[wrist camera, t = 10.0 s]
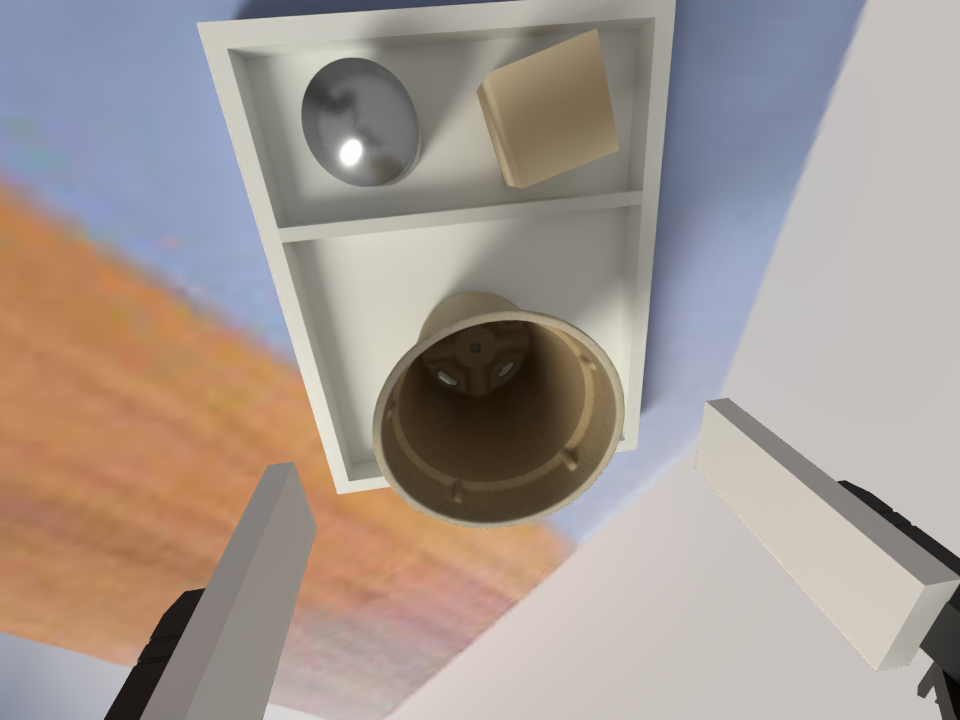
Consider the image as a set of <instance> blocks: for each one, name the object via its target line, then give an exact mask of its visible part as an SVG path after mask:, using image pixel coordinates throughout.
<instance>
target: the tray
mask: <svg viewBox="0 0 960 720" xmlns="http://www.w3.org/2000/svg"><path fill="white" fill-rule="evenodd" d="M675 9H676V0H521V1H506V2H492V3H477V4H462V5H448V6H433V7H419V8H404V9H390V10H375V11H360V12H346V13H331V14H317V15H302V16H288V17H273V18H258V19H244V20H229V21H215V22H200V23H196V24H197V27H198V31H199V34H200V37H201V41H202V44H203V47H204V51H205V54H206V57H207V61H208V64H209V67H210V71H211V74H212V77H213V81H214V84H215V87H216V91H217V94H218V97H219V101H220V104H221V107H222V110H223V114H224V117H225V120H226V124H227V127H228V130H229V134H230V137H231V140H232V144H233V147H234V150H235V154H236V157H237V160H238V164H239V167H240V170H241V174H242V177H243V180H244V184H245V187H246V190H247V194H248V197H249V200H250V204H251V207H252V210H253V214H254V217H255V220H256V224H257V227H258V230H259V234H260V237H261V240H262V244H263V247H264V250H265V254H266V257H267V260H268V264H269V267H270V270H271V274H272V277H273V280H274V284H275V287H276V290H277V294H278V297H279V300H280V304H281V307H282V310H283V314H284V317H285V320H286V323H287V327H288V330H289V333H290V337H291V340H292V343H293V347H294V350H295V353H296V357H297V360H298V363H299V367H300V370H301V373H302V377H303V380H304V383H305V387H306V390H307V393H308V397H309V400H310V403H311V407H312V410H313V413H314V417H315V420H316V423H317V427H318V430H319V433H320V437H321V440H322V443H323V447H324V450H325V453H326V457H327V460H328V463H329V467H330V470H331V473H332V477H333V480H334V483H335V487H336V490H337V493H338V494H344V493H350V492H357V491H364V490H370V489H377V488H384V487H390V485H389V484H388V482H387V481H386V480H385V478H384V476H383V473H382V471H381V470H380V468H379V465H378V463H377V459H376V456H375V453H374V447H373V439H372V423H373V416H374V410H375V406H376V402H377V399H378V396H379V394H380V391H381V389H382V387H383V385H384V383H385V381H386V379H387V377H388V376H389V374H390V373H391V371H392V369H393V368H394V366H395V365H396V364H397V362H398V361H399V360H400V359H401V358H402V357H403V355H404V354H405V353H406V352H407V351H408V350H410V349H411V348H412V347H413V346H414V345H415V344H416V343H417V340H418V337H419V334H420V331H421V328H422V326H423V324H424V322H425V320H426V319H427V317H428V316H429V315H430V313H431V312H432V311H433V310H434V309H435V308H436V307H437V306H438V305H439V304H441V303H442V302H444V301H445V300H447V299H449V298H451V297H453V296H456V295H459V294H463V293H469V292H489V293H493V294H496V295H499V296H501V297H503V298H505V299H507V300H509V301H510V302H512V303H513V304H514V305H515V306H517V307H518V308H519V309H521V310H530V311H536V312H541V313H545V314H548V315H552V316H555V317H557V318H559V319H562V320H564V321H566V322H568V323H570V324H572V325H574V326H576V327H577V328H579V329H581V330H582V331H583V332H585V333H586V334H587V335H589V336H590V337H591V338H592V339H593V340H594V341H595V342H597V344H598V345H599V346H600V347H601V348H602V349H603V350H604V351H605V352H606V354H607V356H608V357H609V358H610V360H611V361H612V363H613V365H614V366H615V368H616V370H617V372H618V374H619V377H620V381H621V384H622V388H623V393H624V403H625V419H624V424H623V430H622V433H621V438H620V441H619V443H618V445H617V449H616V451H615V452H614V453H617V452H623V451H630V450H637V441H638V430H639V419H640V407H641V396H642V384H643V373H644V362H645V350H646V339H647V328H648V316H649V305H650V293H651V282H652V271H653V259H654V248H655V237H656V225H657V214H658V202H659V191H660V180H661V168H662V157H663V146H664V134H665V123H666V111H667V100H668V89H669V77H670V66H671V54H672V43H673V32H674V20H675ZM596 28H597V31H598V37H599V42H600V47H601V52H602V58H603V63H604V68H605V74H606V79H607V84H608V90H609V95H610V100H611V106H612V111H613V116H614V122H615V127H616V132H617V138H618V143H619V148H620V150H618V151H616V152H613V153H611V154H608V155H606V156H603V157H601V158H598V159H596V160H593V161H591V162H588V163H586V164H583V165H581V166H578V167H576V168H573V169H571V170H568V171H566V172H563V173H561V174H558V175H556V176H553V177H551V178H548V179H546V180H543V181H541V182H538V183H536V184H533V185H531V186H528V187H526V188H523V189H522V188H517V187H512V186H507V185H505V184H504V180H503V177H502V174H501V171H500V167H499V164H498V161H497V158H496V154H495V151H494V148H493V145H492V142H491V138H490V135H489V132H488V129H487V125H486V122H485V119H484V116H483V112H482V109H481V106H480V103H479V100H478V96H477V93H476V91H477V89H478V88H479V86H480V85H481V84H482V82H483V81H484V79H485V78H486V76H487V75H488V73H489V72H492V71H494V70H497V69H499V68H502V67H504V66H506V65H509V64H511V63H514V62H516V61H519V60H521V59H523V58H526V57H528V56H531V55H533V54H535V53H538V52H540V51H543V50H545V49H548V48H550V47H552V46H555V45H557V44H560V43H562V42H565V41H567V40H569V39H572V38H574V37H577V36H579V35H581V34H584V33H586V32H589V31H591V30H594V29H596ZM350 57H354V58H363V59H368V60H370V61H373V62H376V63H378V64H380V65H382V66H383V67H385V68H386V69H388V70H389V71H390V72H391V73H392V74H394V75H395V76H396V77H397V78H398V80H399V81H400V82H401V83H402V84H403V86H404V87H405V89H406V90H407V92H408V94H409V96H410V98H411V100H412V103H413V105H414V108H415V111H416V113H417V116H418V119H419V122H420V125H421V129H422V137H423V144H422V151H421V156H420V159H419V161H418V163H417V165H416V167H415V168H414V170H413V171H412V172H411V174H410V175H409V176H408V177H406V178H405V179H404V180H402V181H401V182H399V183H396V184H394V185H390V186H384V187H360V186H354V185H350V184H347V183H345V182H343V181H340V180H339V179H337V178H335V177H334V176H332V175H331V174H330V173H328V172H327V171H326V170H325V169H324V168H323V167H322V166H321V165H320V164H319V163H318V161H317V160H316V159H315V157H314V156H313V154H312V153H311V151H310V149H309V147H308V145H307V142H306V139H305V137H304V133H303V128H302V121H301V109H302V101H303V97H304V94H305V91H306V89H307V86H308V84H309V83H310V81H311V79H312V78H313V77H314V76H315V74H316V73H317V72H318V71H319V70H320V69H321V68H323V67H324V66H326V65H327V64H329V63H331V62H333V61H335V60H338V59H342V58H350ZM505 321H506V322H507V323H510V322H511V321H513V320H505ZM472 350H473V351H474V352H478V351H479V350H480V347H479V346H473V347H472ZM513 365H514V364H513V363H509V364H508V365H507V366H506V367H503V370H502V371H501V373H500V374H499V377H501V376H504V375H505V374H506V373H507V372H508V371H509V370H510V369H511V368H512V366H513ZM438 374H439V377H440V378H441V379H442V380H443V381H445V382H446V383H448V384H453V385H456V384H457V381H455V380H453V379H452V378H450V377H449V376H447V375H446V374H444V373H443V372H442V371H440V372H439V373H438Z"/></svg>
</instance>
